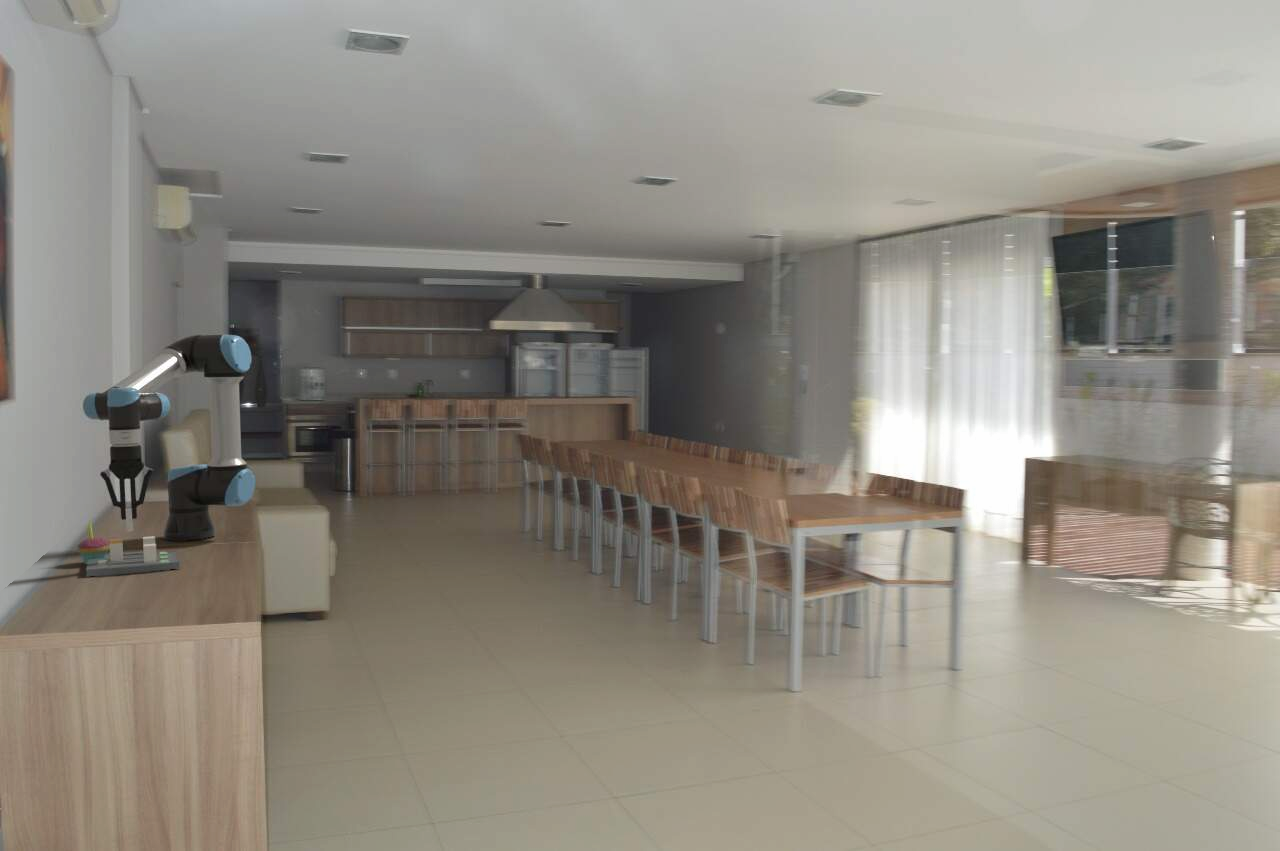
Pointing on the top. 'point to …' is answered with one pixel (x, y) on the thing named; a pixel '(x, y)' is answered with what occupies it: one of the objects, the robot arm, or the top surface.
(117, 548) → the breaker handle
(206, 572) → the top surface
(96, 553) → the cupcake
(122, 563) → the panel
